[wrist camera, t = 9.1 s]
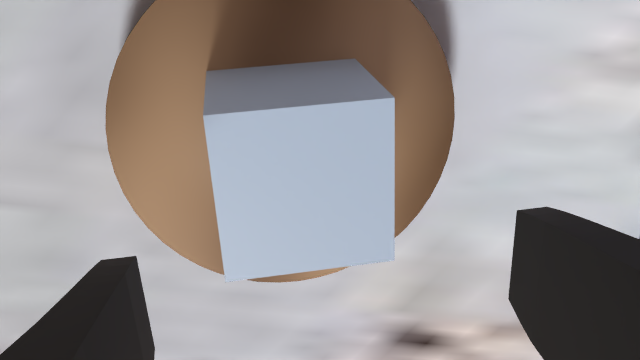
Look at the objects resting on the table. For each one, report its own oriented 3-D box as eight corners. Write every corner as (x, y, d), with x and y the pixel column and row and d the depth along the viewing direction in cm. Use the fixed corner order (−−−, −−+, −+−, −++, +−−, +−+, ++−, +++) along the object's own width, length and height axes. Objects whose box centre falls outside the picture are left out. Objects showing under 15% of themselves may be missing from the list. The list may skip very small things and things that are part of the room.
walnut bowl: (458, -41, 19) (483, -37, 18) (410, 252, 24) (427, 280, 22) (107, -71, 17) (93, -70, 16) (123, 254, 22) (114, 284, 20)
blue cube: (354, 58, 18) (394, 97, 14) (358, 191, 20) (394, 260, 16) (206, 70, 18) (203, 115, 14) (223, 206, 19) (225, 282, 15)
